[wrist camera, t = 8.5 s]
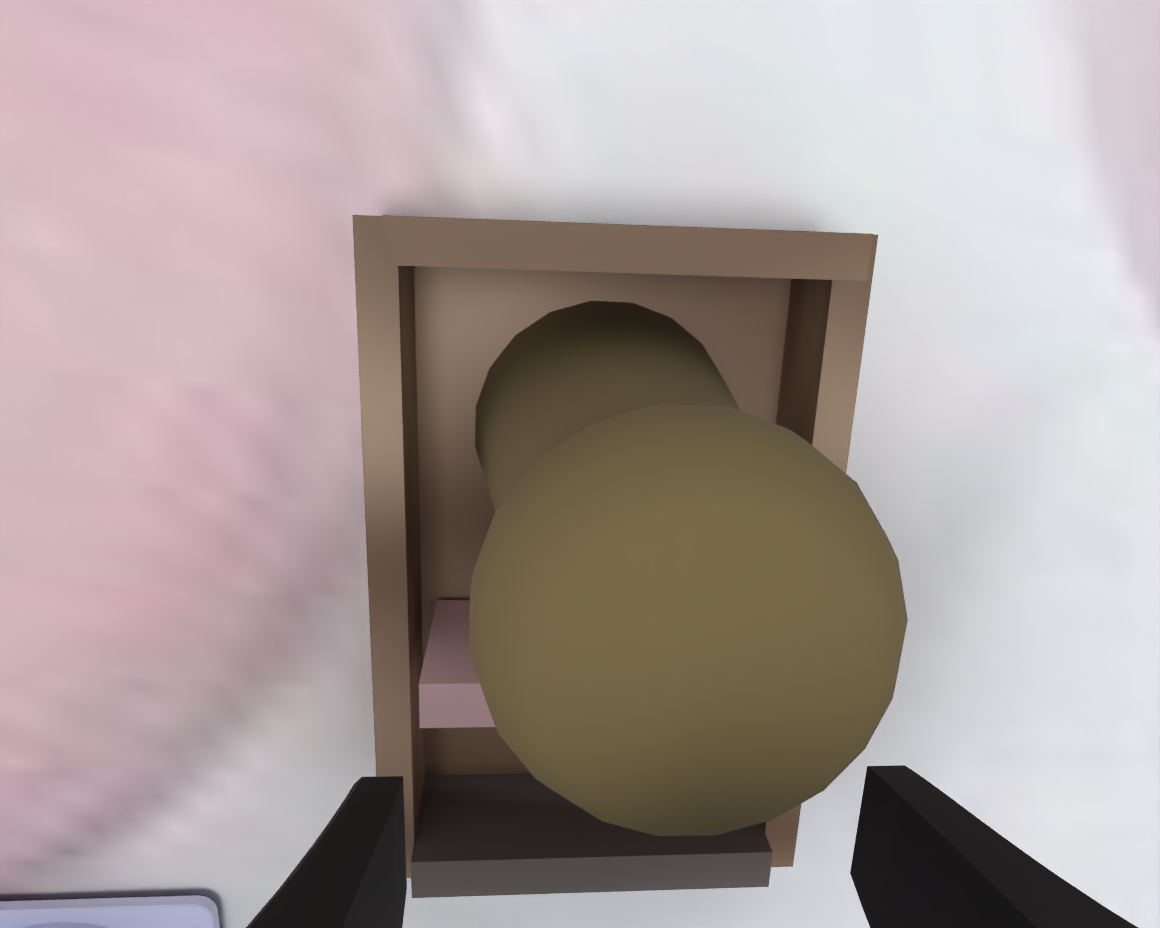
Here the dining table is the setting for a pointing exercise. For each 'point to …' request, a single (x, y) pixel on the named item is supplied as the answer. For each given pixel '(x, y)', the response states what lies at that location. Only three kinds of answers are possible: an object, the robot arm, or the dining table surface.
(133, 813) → the dining table surface
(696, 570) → the olive bulbous piece
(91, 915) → the robot arm
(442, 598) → the open box
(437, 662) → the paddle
